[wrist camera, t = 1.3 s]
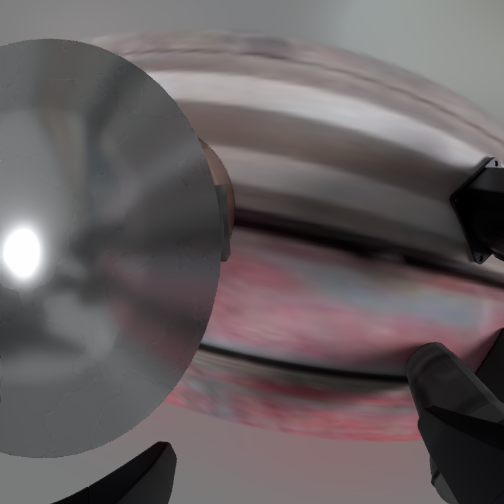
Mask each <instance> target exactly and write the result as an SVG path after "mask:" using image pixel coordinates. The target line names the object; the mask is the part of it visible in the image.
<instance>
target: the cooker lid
mask: <svg viewBox="0 0 504 504" xmlns="http://www.w3.org/2000/svg"><path fill="white" fill-rule="evenodd" d="M220 260H221V223H220V213H219V204H218V199H217V194H216V189H215V184H214V180H213V177H212V174H211V170H210V167H209V164H208V161H207V158H206V156H205V154H204V151H203V149H202V146H201V144H200V141H199V139H198V138H197V136H196V134H195V132H194V130H193V128H192V127H191V125H190V123H189V121H188V120H187V118H186V117H185V115H184V114H183V112H182V111H181V110H180V108H179V107H178V105H177V104H176V102H175V101H174V100H173V99H172V98H171V97H170V96H169V95H168V93H167V92H166V91H165V90H164V89H163V88H162V87H161V86H160V85H159V84H158V83H157V82H156V81H155V80H153V79H152V78H151V77H150V76H149V75H148V74H146V73H145V72H144V71H143V70H142V69H140V68H138V67H137V66H135V65H134V64H132V63H131V62H129V61H128V60H126V59H124V58H123V57H121V56H119V55H116V54H114V53H112V52H110V51H107V50H105V49H103V48H100V47H97V46H93V45H90V44H86V43H82V42H78V41H71V40H60V39H38V40H27V41H21V42H17V43H13V44H8V45H5V46H1V47H0V452H2V453H6V454H10V455H14V456H22V457H30V458H54V457H63V456H69V455H73V454H78V453H82V452H85V451H88V450H91V449H94V448H98V447H100V446H102V445H104V444H106V443H108V442H111V441H113V440H114V439H117V438H118V437H120V436H121V435H123V434H124V433H126V432H128V431H129V430H131V429H133V428H134V427H135V426H136V425H138V424H139V423H140V422H141V421H143V420H144V419H145V418H146V417H148V416H149V415H150V414H151V413H152V412H153V411H154V410H155V409H156V408H157V407H158V406H159V405H160V404H161V403H162V402H163V401H164V399H165V398H166V397H167V396H168V395H169V393H170V392H171V391H172V390H173V389H174V387H175V386H176V385H177V383H178V382H179V380H180V379H181V377H182V376H183V374H184V373H185V371H186V370H187V368H188V366H189V364H190V362H191V361H192V359H193V357H194V355H195V353H196V351H197V349H198V347H199V345H200V342H201V340H202V338H203V335H204V333H205V330H206V327H207V324H208V321H209V318H210V315H211V312H212V308H213V304H214V300H215V296H216V292H217V285H218V279H219V272H220Z"/></svg>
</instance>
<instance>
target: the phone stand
mask: <svg viewBox="0 0 504 504" xmlns="http://www.w3.org/2000/svg"><path fill="white" fill-rule="evenodd" d="M475 375H476V376H477V377H478V378H479V379H480V380H481V382H482V383H483V384H484V385H485V386H486V387H487V388H488V389H489V390H490V391H491V392H492V393H493V394H494V395H495V397H496V398H497V399H498V400H499V401H500V402H502V403H504V328H503V330H502V332H501V334H500V336H499V337H498V339H497V341H496V342H495V344H494V346H493V347H492V349H491V351H490V352H489V354H488V355H487V357H486V359H485V360H484V362H483V363H482V365H481V366H480V368H479V369H478V370H477V372H476V373H475Z"/></svg>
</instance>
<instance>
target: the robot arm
mask: <svg viewBox="0 0 504 504" xmlns="http://www.w3.org/2000/svg"><path fill="white" fill-rule="evenodd" d="M494 162H495V164H494ZM456 197H457V202H455V198H456ZM450 202H451V205H452V207H453V209H454V211H455V213H456V215H457V218H458V220H459V222H460V224H461V227H462V229H463V231H464V234H465V236H466V239H467V241H468V244H469V247H470V249H471V252H472V255H473V257H474V260H475V262H476V263H478V264H482V263H483V262H485V261H486V260H487V259H488V258H489V257H490V256H491V255H492V254H493V255H494V256H495V257H496V258H498V259H500V260H502V261H504V168H502V166H501V164H500V161H499V160H498V158H496V157H492V158H491V159H490V160H489V161H487V162H486V163H485V164H484V165H483V166H482V167H481V168H480V169H479V170H478V171H477V172H476V173H475V174H474V175H473V176H472V177H470V178H469V179H468V180H467V181H466V182H465V183H464V184H463V185H462V186H461V187H459V188H458V189H457V190H456V191H455V192H454V193H453V194H452V195H451V197H450ZM480 256H481V257H480ZM479 257H480V259H479ZM418 429H419V431H420V434H421V436H422V438H423V440H424V443H425V445H426V447H427V450H428V452H429V454H430V456H431V458H432V459H433V461H434V463H435V464H436V466H437V468H438V469H439V471H440V473H441V474H442V476H443V478H444V480H445V481H446V483H447V485H448V486H449V488H450V490H451V492H452V493H453V495H454V497H455V499H456V500H457V502H458V504H504V424H500V423H496V422H492V421H488V420H484V419H480V418H476V417H472V416H469V415H465V414H462V413H458V412H455V411H452V410H448V409H445V408H442V407H439V406H435V405H430V406H427V407H424V408H423V409H422V412H421V414H420V417H419V420H418ZM176 462H177V458H176V454H175V452H174V450H173V448H172V446H171V444H170V443H169V442H161V441H160V442H157V443H155V444H154V445H152V446H151V447H150V448H148V449H147V450H145V451H144V452H142V453H141V454H139V455H138V456H136V457H135V458H133V459H132V460H130V461H129V462H127V463H126V464H124V465H123V466H121V467H120V468H118V469H116V470H115V471H113V472H112V473H110V474H108V475H107V476H105V477H104V478H102V479H100V480H99V481H97V482H95V483H93V484H92V485H90V486H89V487H86V488H84V489H82V490H81V491H79V492H77V493H75V494H73V495H71V496H69V497H66V498H64V499H62V500H59V501H57V502H54V503H52V504H168V502H169V499H170V496H171V492H172V487H173V481H174V474H175V468H176Z"/></svg>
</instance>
